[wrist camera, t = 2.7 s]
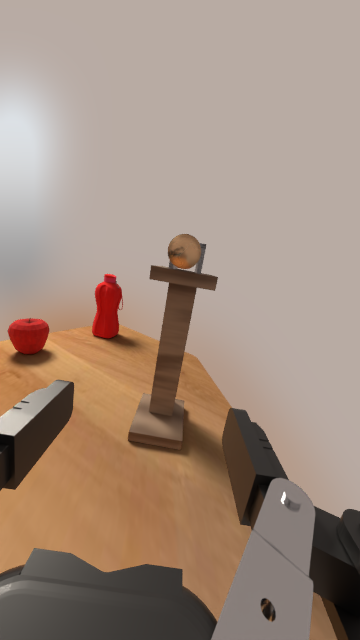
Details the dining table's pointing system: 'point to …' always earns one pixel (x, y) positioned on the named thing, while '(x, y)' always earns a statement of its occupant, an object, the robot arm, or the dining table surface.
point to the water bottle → (107, 307)
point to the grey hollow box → (198, 264)
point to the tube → (184, 251)
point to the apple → (28, 335)
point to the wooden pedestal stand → (169, 361)
